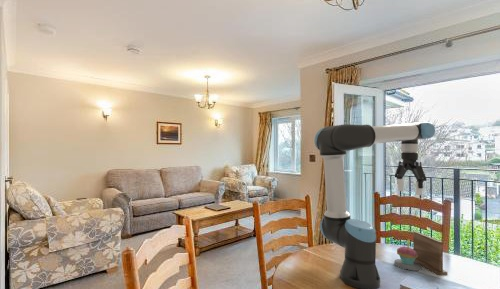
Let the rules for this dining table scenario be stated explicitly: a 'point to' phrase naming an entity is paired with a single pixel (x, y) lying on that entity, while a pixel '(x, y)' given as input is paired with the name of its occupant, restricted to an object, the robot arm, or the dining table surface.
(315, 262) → the dining table surface
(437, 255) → the screen
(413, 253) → the cupcake
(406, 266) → the plate
